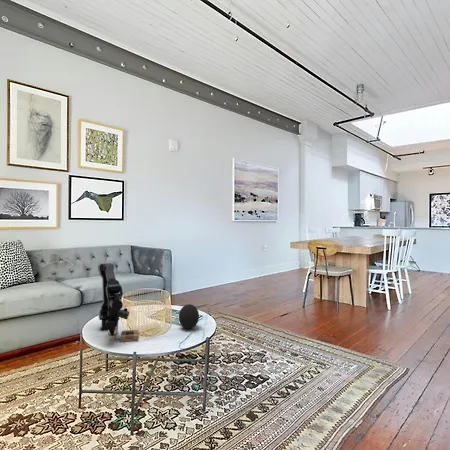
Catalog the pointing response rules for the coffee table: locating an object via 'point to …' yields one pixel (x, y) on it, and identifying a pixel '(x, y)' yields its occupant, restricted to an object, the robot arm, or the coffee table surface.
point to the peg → (114, 333)
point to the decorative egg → (188, 316)
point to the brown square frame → (129, 336)
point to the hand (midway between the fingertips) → (113, 333)
